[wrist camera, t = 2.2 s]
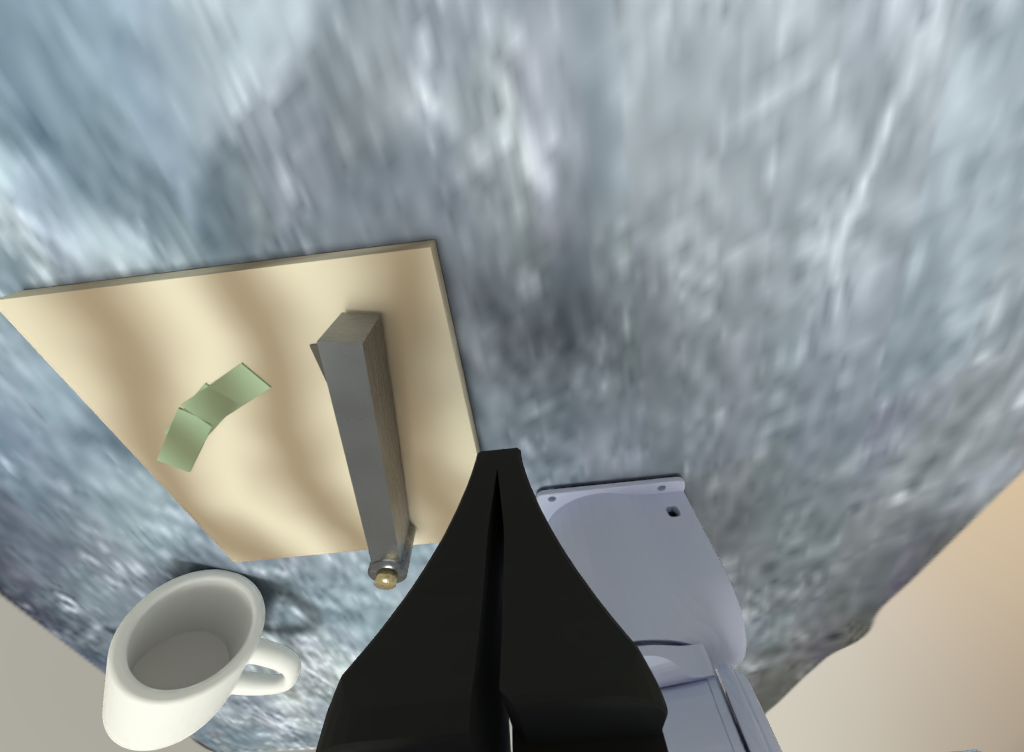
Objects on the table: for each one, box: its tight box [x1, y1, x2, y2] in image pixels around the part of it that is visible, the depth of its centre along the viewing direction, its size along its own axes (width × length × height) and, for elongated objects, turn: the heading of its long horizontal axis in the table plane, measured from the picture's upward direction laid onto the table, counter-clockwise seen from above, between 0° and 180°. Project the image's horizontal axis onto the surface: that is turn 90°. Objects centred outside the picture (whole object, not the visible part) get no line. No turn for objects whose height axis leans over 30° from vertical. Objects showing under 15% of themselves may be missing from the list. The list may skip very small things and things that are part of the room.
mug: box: [102, 569, 301, 751], centre depth 28 cm, size 12×10×8 cm
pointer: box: [317, 312, 416, 590], centre depth 19 cm, size 2×16×3 cm, turn 176°
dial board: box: [0, 240, 481, 562], centre depth 20 cm, size 18×19×1 cm
